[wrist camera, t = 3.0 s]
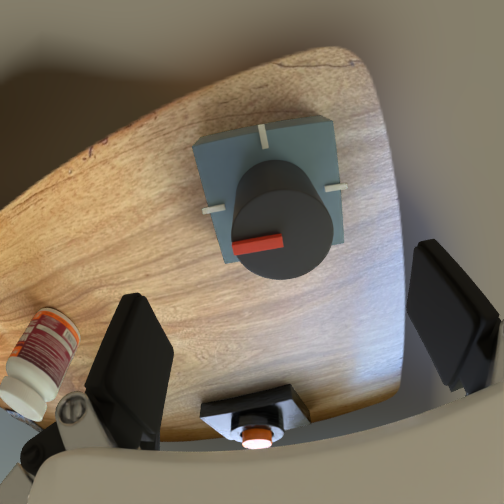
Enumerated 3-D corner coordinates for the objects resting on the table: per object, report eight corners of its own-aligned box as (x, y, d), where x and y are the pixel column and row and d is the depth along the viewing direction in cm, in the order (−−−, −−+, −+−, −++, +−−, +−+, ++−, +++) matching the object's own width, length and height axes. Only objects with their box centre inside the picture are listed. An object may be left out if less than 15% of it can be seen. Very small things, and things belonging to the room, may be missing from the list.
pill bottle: (38, 296, 26) (-12, 376, 16) (85, 323, 28) (44, 412, 18) (37, 328, 29) (-3, 401, 19) (79, 352, 30) (46, 430, 21)
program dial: (308, 153, 16) (331, 183, 12) (317, 225, 19) (338, 274, 14) (227, 167, 17) (218, 203, 12) (244, 237, 19) (242, 291, 14)
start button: (265, 424, 31) (265, 437, 30) (275, 434, 33) (276, 446, 31) (237, 429, 32) (237, 441, 30) (249, 439, 34) (249, 450, 32)
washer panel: (326, 108, 18) (339, 113, 15) (339, 226, 22) (350, 248, 19) (192, 133, 18) (182, 141, 16) (223, 247, 23) (220, 271, 20)
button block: (290, 383, 32) (293, 412, 29) (309, 410, 36) (312, 435, 33) (201, 403, 35) (198, 430, 31) (229, 427, 39) (229, 451, 35)
